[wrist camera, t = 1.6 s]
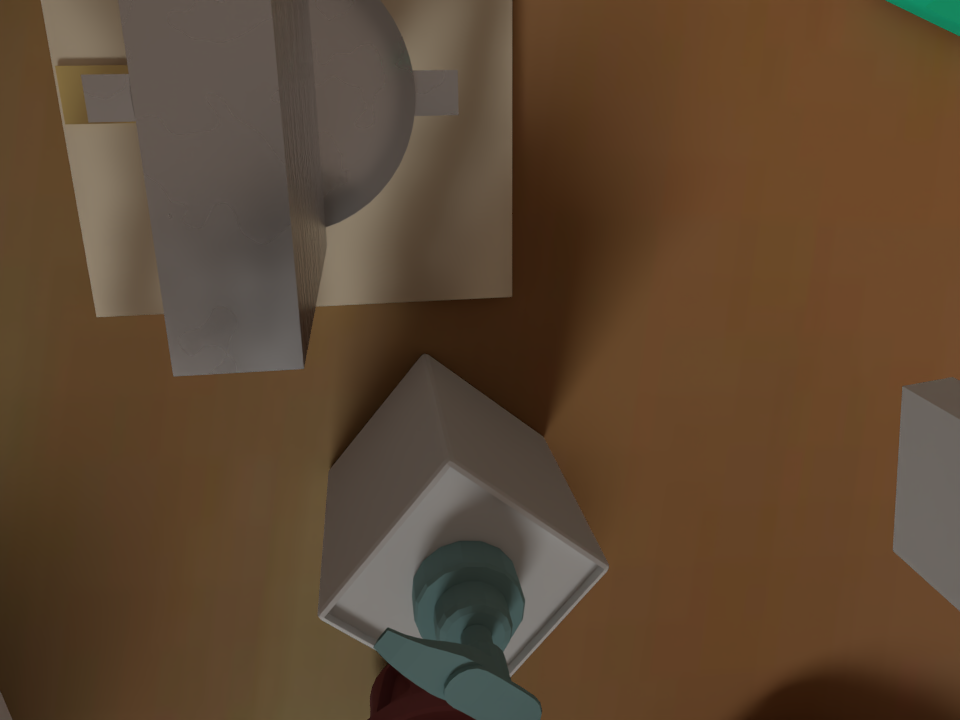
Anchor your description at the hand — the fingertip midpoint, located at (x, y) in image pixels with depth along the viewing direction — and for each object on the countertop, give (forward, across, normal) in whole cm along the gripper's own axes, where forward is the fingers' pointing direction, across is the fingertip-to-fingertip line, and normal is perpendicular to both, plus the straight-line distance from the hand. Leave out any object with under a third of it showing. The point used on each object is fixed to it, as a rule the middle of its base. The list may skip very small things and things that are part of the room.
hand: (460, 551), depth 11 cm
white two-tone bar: (+24, -3, +6) cm, 25 cm away
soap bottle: (+31, 0, -14) cm, 34 cm away
